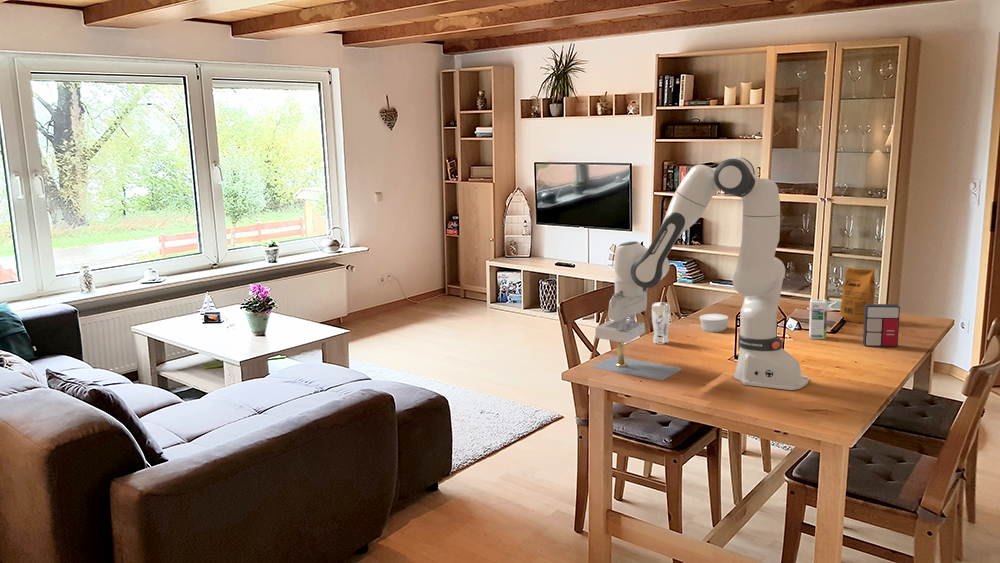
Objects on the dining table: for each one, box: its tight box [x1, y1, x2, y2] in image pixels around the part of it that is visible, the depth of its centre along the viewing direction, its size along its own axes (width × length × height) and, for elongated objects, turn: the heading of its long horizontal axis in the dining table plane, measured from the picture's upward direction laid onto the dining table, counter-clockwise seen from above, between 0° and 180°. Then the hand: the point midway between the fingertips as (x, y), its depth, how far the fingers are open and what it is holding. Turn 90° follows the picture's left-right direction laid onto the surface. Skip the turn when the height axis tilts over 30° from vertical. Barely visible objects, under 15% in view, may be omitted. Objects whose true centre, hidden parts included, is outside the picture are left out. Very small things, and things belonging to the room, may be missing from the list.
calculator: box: [862, 303, 901, 348], centre depth 273 cm, size 11×4×15 cm, turn 76°
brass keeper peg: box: [615, 342, 627, 367], centre depth 258 cm, size 4×4×9 cm
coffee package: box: [839, 266, 876, 324], centre depth 309 cm, size 10×12×22 cm
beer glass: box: [651, 301, 671, 345], centre depth 290 cm, size 7×7×15 cm
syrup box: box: [808, 298, 828, 340], centre depth 287 cm, size 6×6×14 cm
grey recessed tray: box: [595, 319, 646, 344], centre depth 257 cm, size 12×12×4 cm
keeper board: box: [590, 355, 684, 381], centre depth 256 cm, size 27×15×2 cm, turn 50°
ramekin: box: [699, 313, 729, 333], centre depth 306 cm, size 11×11×5 cm
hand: (627, 328), depth 260 cm, fingers closed on grey recessed tray, 2 cm apart
